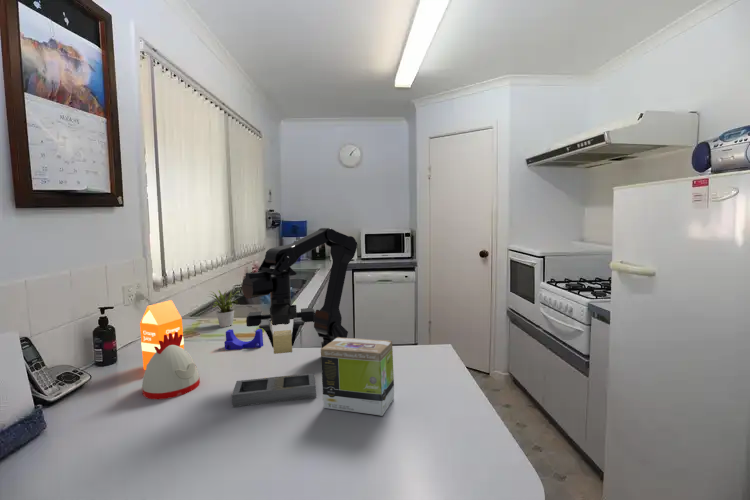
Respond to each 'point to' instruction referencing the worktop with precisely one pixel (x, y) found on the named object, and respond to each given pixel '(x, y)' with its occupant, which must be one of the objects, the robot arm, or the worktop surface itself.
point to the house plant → (224, 309)
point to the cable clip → (236, 344)
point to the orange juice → (159, 327)
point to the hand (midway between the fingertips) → (283, 346)
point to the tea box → (358, 375)
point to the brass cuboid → (282, 341)
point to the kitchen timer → (170, 371)
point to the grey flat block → (274, 389)
